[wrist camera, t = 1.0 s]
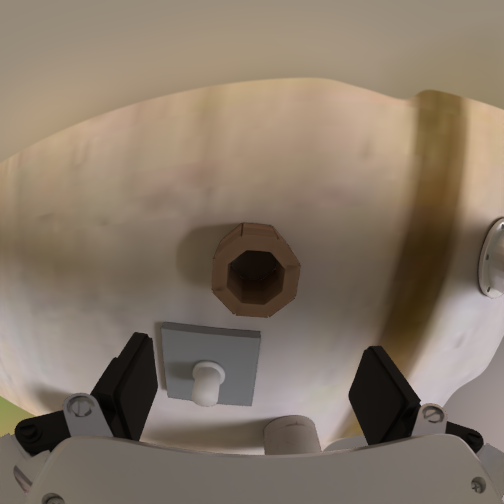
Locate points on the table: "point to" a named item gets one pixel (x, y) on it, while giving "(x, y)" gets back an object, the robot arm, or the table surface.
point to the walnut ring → (250, 290)
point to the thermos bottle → (291, 436)
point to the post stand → (210, 364)
